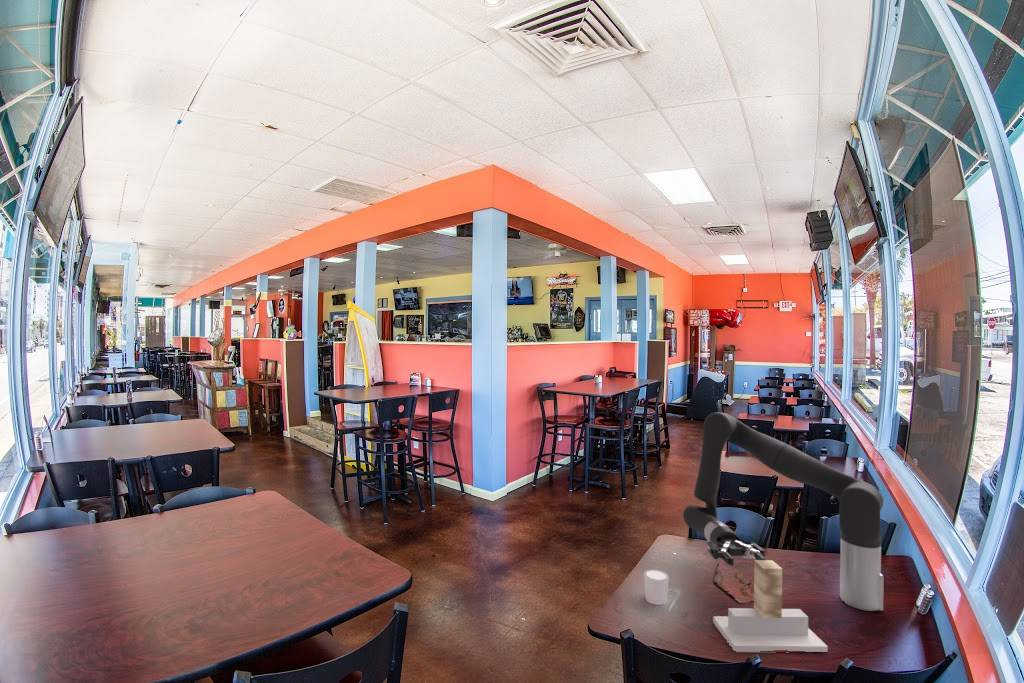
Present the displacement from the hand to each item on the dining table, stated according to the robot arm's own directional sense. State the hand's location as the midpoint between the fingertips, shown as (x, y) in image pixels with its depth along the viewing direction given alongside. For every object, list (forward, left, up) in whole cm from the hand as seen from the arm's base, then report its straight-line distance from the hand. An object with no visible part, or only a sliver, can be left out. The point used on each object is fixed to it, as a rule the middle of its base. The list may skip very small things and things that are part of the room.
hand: (748, 562), depth 130 cm
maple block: (-3, +10, -8) cm, 13 cm away
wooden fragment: (+3, -17, -14) cm, 23 cm away
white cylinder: (+24, +2, -14) cm, 27 cm away
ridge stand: (-3, +10, -14) cm, 17 cm away
